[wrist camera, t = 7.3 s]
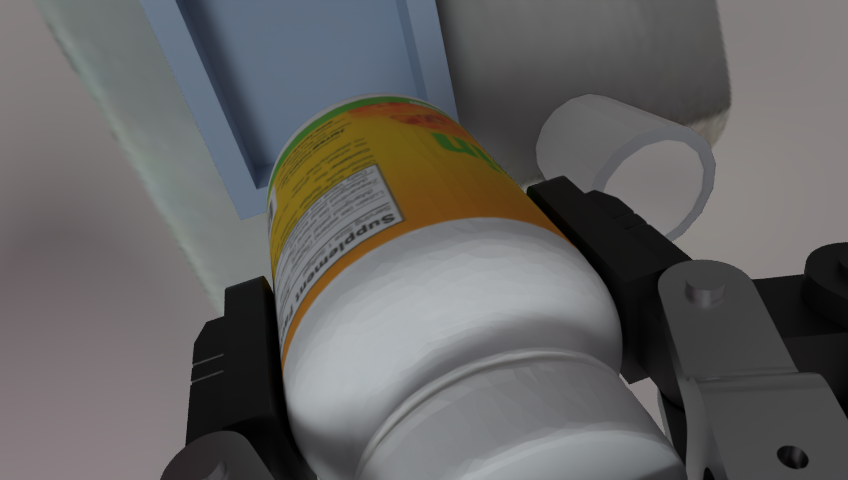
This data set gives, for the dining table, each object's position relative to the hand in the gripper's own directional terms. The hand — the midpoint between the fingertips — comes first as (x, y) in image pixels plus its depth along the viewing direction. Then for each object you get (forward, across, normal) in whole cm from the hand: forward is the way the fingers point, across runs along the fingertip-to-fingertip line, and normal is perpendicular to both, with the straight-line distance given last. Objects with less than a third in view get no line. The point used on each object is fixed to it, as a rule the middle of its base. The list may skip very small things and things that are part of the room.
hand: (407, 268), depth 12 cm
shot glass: (+19, -13, +9) cm, 25 cm away
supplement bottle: (+4, 0, 0) cm, 4 cm away
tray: (+19, 0, 0) cm, 19 cm away
